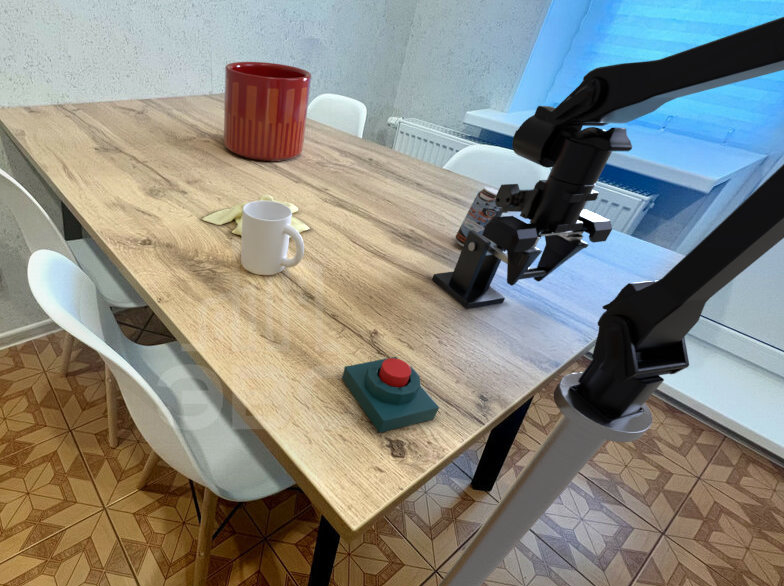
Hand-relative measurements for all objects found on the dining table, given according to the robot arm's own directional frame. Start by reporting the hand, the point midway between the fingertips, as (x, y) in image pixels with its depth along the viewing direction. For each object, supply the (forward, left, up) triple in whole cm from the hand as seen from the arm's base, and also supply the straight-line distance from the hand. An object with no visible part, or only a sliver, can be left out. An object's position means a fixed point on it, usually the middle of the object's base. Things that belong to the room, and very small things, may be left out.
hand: (523, 282), depth 72 cm
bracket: (+10, 0, -8) cm, 12 cm away
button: (-10, +29, -4) cm, 31 cm away
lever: (+5, 0, 0) cm, 5 cm away
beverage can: (+25, -13, -8) cm, 29 cm away
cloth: (+44, +28, -8) cm, 52 cm away
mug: (+25, +32, -8) cm, 41 cm away
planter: (+91, +10, -8) cm, 91 cm away
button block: (-10, +29, -8) cm, 32 cm away
